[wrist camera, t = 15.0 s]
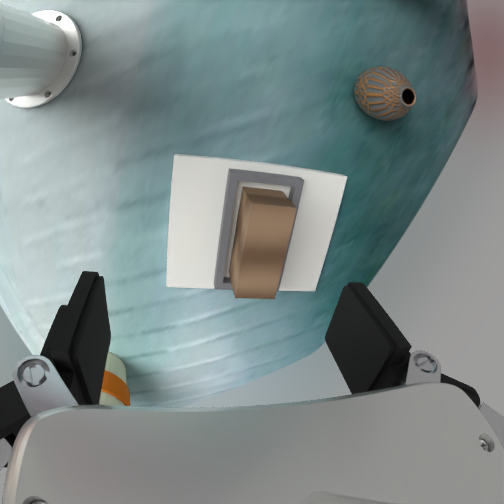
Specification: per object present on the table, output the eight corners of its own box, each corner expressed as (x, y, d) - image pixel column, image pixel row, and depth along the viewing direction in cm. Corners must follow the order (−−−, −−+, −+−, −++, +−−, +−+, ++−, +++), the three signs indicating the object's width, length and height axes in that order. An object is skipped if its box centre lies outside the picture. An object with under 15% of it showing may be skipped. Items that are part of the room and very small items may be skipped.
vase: (392, 114, 37) (433, 124, 30) (349, 119, 37) (386, 129, 29) (386, 66, 34) (428, 67, 26) (342, 68, 33) (379, 66, 26)
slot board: (166, 282, 43) (166, 293, 41) (174, 153, 35) (173, 157, 33) (312, 287, 49) (318, 296, 47) (343, 174, 41) (352, 180, 38)
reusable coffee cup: (66, 335, 45) (44, 407, 32) (137, 348, 48) (131, 424, 36) (73, 380, 50) (60, 445, 37) (134, 391, 54) (131, 458, 41)
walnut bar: (242, 186, 38) (251, 203, 33) (281, 190, 39) (296, 208, 34) (228, 271, 43) (234, 297, 38) (264, 273, 44) (274, 298, 39)
